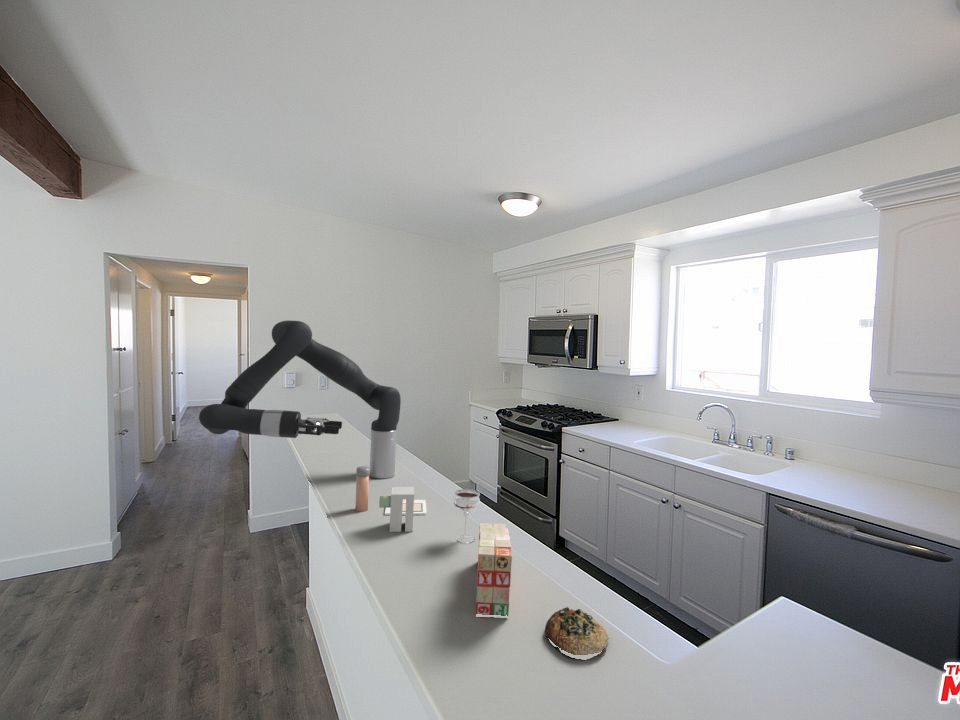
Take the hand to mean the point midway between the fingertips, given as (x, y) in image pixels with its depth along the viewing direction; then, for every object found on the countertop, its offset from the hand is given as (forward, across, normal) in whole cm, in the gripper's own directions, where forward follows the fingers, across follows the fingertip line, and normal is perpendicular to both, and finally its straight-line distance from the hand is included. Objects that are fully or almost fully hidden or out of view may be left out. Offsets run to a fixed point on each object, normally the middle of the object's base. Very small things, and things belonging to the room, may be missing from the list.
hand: (340, 427), depth 129 cm
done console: (+20, -13, +24) cm, 33 cm away
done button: (+15, -13, +18) cm, 27 cm away
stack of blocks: (+37, -45, +24) cm, 63 cm away
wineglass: (+36, -22, +23) cm, 48 cm away
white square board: (+22, +1, +23) cm, 31 cm away
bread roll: (+48, -63, +23) cm, 83 cm away
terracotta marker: (+8, +1, +24) cm, 25 cm away
